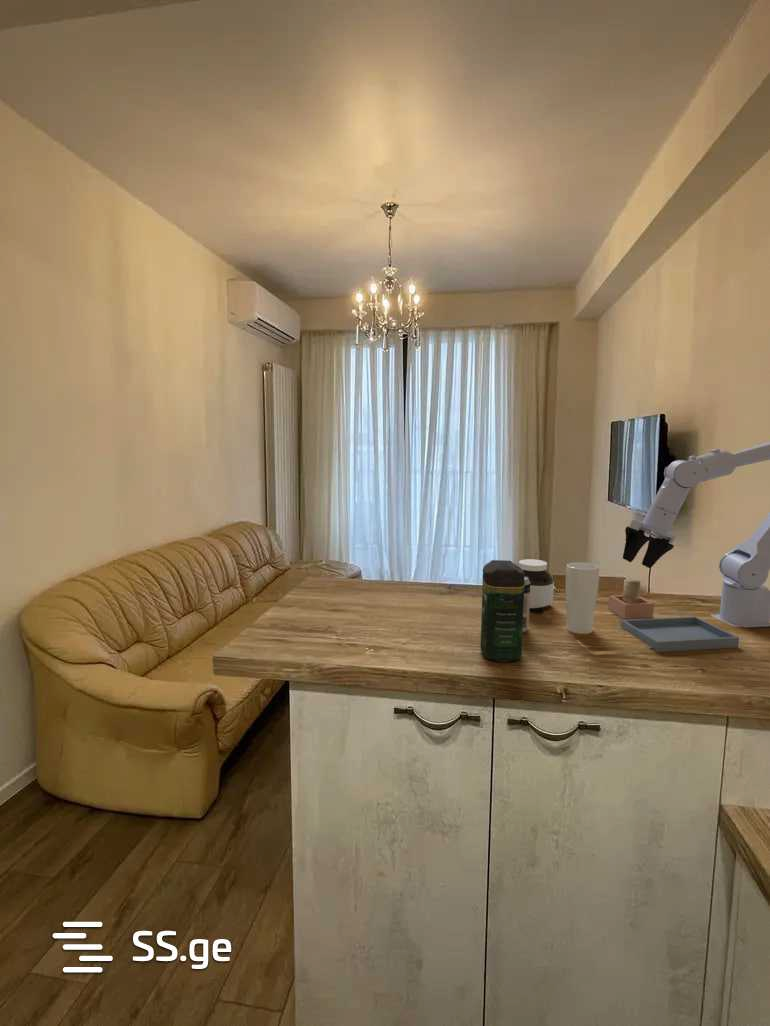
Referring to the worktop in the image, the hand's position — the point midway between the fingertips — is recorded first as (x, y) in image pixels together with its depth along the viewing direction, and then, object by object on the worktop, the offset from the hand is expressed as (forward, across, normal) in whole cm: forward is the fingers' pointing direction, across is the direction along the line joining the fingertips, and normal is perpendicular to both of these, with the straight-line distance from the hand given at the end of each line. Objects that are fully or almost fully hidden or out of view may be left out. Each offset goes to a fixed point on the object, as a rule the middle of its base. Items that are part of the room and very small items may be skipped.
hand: (636, 563), depth 128 cm
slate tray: (+10, -2, +15) cm, 19 cm away
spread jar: (+22, +12, -14) cm, 28 cm away
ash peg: (+12, -5, +1) cm, 13 cm away
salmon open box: (+12, -5, +1) cm, 13 cm away
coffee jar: (+25, +35, +6) cm, 43 cm away
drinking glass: (+18, +13, +4) cm, 23 cm away
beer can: (+23, +23, -3) cm, 33 cm away
